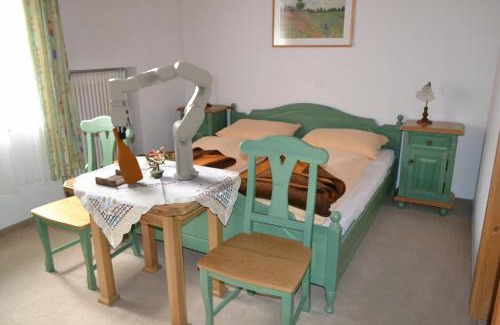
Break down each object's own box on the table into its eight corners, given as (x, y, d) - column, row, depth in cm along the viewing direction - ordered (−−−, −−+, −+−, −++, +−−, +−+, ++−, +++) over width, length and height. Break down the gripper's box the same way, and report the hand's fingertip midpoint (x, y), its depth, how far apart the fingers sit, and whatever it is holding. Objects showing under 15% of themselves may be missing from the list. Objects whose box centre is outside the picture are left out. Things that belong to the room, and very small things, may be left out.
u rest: (136, 178, 214) (135, 172, 213) (115, 187, 201) (114, 181, 200) (117, 175, 220) (116, 169, 219) (95, 183, 207) (95, 177, 206)
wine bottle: (138, 181, 198) (117, 126, 194) (122, 186, 201) (101, 131, 197) (147, 177, 207) (127, 123, 204) (132, 181, 210) (112, 129, 206)
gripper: (135, 103, 194) (139, 139, 200) (113, 101, 201) (117, 136, 206) (124, 105, 188) (128, 142, 193) (102, 103, 194) (106, 139, 200)
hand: (123, 139), depth 200 cm, fingers closed
